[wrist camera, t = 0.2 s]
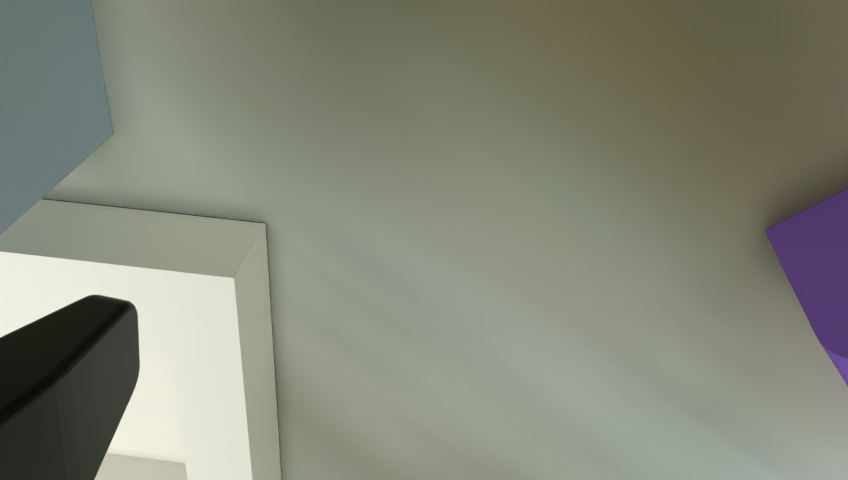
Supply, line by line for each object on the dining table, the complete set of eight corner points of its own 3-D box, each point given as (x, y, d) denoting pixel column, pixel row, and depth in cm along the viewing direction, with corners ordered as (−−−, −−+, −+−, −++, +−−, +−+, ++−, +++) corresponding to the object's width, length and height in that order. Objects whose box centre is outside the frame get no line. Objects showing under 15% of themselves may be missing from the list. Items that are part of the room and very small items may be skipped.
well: (284, 521, 32) (262, 588, 29) (0, 482, 33) (-45, 543, 30) (265, 223, 24) (234, 278, 22) (-101, 183, 25) (-173, 231, 23)
